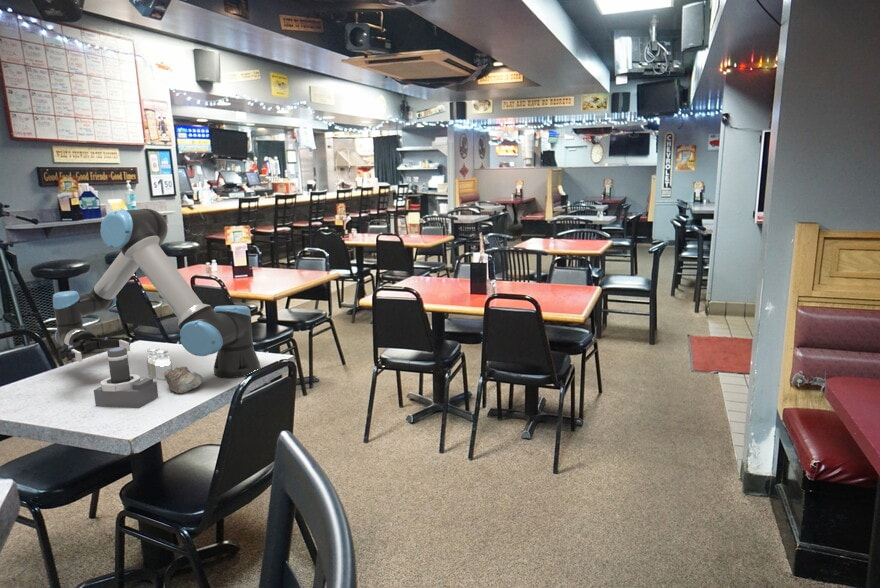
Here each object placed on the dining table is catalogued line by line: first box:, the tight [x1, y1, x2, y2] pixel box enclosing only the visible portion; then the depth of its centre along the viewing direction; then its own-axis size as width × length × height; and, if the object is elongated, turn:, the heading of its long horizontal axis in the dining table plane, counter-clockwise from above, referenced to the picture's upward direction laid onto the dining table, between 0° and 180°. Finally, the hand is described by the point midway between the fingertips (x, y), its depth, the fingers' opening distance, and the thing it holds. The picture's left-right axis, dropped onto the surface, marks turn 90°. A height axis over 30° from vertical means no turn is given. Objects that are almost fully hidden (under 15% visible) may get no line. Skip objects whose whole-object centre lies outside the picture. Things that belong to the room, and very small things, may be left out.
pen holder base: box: [93, 373, 159, 409], centre depth 174 cm, size 14×10×7 cm
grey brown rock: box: [164, 366, 204, 394], centre depth 185 cm, size 14×9×10 cm
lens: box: [107, 347, 131, 384], centre depth 172 cm, size 5×5×11 cm
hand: (105, 352), depth 179 cm, fingers open, 13 cm apart
